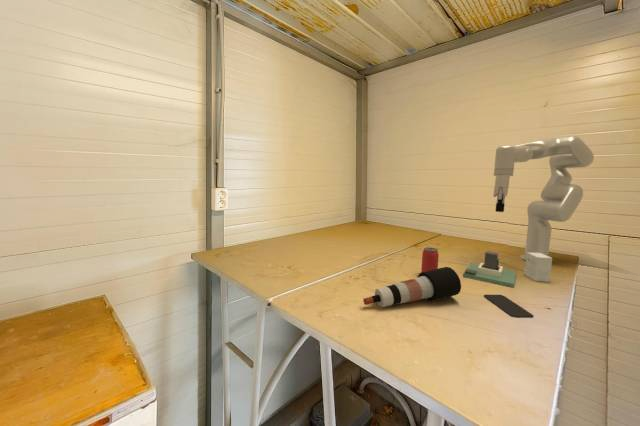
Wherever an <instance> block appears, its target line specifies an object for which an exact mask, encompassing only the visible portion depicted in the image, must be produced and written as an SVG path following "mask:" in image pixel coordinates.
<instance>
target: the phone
mask: <svg viewBox="0 0 640 426" xmlns="http://www.w3.org/2000/svg"><path fill="white" fill-rule="evenodd" d="M483 298H484V299H486V300H487V301H489V302H490V303H491V304H492V305H494V306H495V307H497V308H498V309H500V311H503V312H504V313H505V314H507V315H508V316H509V317H511V318H519V319H520V318H529V319H530V318H534V314H532V313H531V312H530V311H528V310H526V309H525V308H523V307H521V305H519V304H517V303H516V302H514V301H513V300H511V298H510V299H509V298H508V297H507V296H505V295H503V294H484V295H483Z"/></svg>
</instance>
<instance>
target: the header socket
mask: <svg viewBox="0 0 640 426" xmlns="http://www.w3.org/2000/svg"><path fill="white" fill-rule="evenodd" d="M478 265H479V267H478V273H481V274H486V275H490V276H495V277H500V278H501V275H502V271H503V269H504V267H503V266H501V265H499V266H498V270H492V269H487V268H484V262H480V263H479V264H478Z"/></svg>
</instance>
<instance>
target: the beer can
mask: <svg viewBox="0 0 640 426" xmlns="http://www.w3.org/2000/svg"><path fill="white" fill-rule="evenodd" d="M439 256H440V255H439V251H438V249H437V248H435V247H424V248H423V250H422V254H421V271H420V273H422V272H425V271H430V270H434V269H439V268H438V267H439Z"/></svg>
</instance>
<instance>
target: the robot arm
mask: <svg viewBox="0 0 640 426" xmlns="http://www.w3.org/2000/svg"><path fill="white" fill-rule="evenodd" d="M547 157H549V160H548V164H549V168H550V178H549V179H548V181H547V182H546V184H545V185H544V187H543V189H542V190H541V193H540V198H541V200H534V201H531V202H530V203H529V204H528V205H527V218H528V219H527V221H528V222H527V223H528V224H527V231H526V232H527V233H526V240H525V249H524V254H521V255H520V259H522V260H524V261H526V256H527V252H532V253H542V254H544V255H546V256H549V252H550V244H551V236H552V225H551V223H550V221H553V222H562V223H563V222H568V220H570V218H571V217H572V215H573V214H574V212H576V210H577V208H578V206H579V205H580V203H581V201H582V200H583V198H584V190H583V188H582V187H581V186H580V185H578V184H573V183H571V182H572V181H573V179H572V178H573V177H572V175H571V173H570V172H569V171H568V169H570V168H572V169H574V168H575V169H576V168H577V169H579V168H586V167H589V166H590V165H591V164H593V162H594V159H595V158H594V157H595V156H594V153H593V151H592V150H591V148H590V147H589V145H587V144H586V143H585V141H583V140H582V139H581V138H580V137H578V136H576V135H570V136H561V137H554V138H547V139H544V140H543V139H542V140H537V141H532V142H528V143H527V142H526V143H523V144H517V145H501V146H498V147H497V148H496V150H495V159H494V160H495V161H494V167H493V169H494V170H493V177H495V181H494V188H493V197H494V198H496V203H495V212H498V213H504V211H505V199H506V197H507V196H508V193H509V186H510V177H514V169H515V163H525V162H528V161H530V160H538V159H543V158H547Z"/></svg>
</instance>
